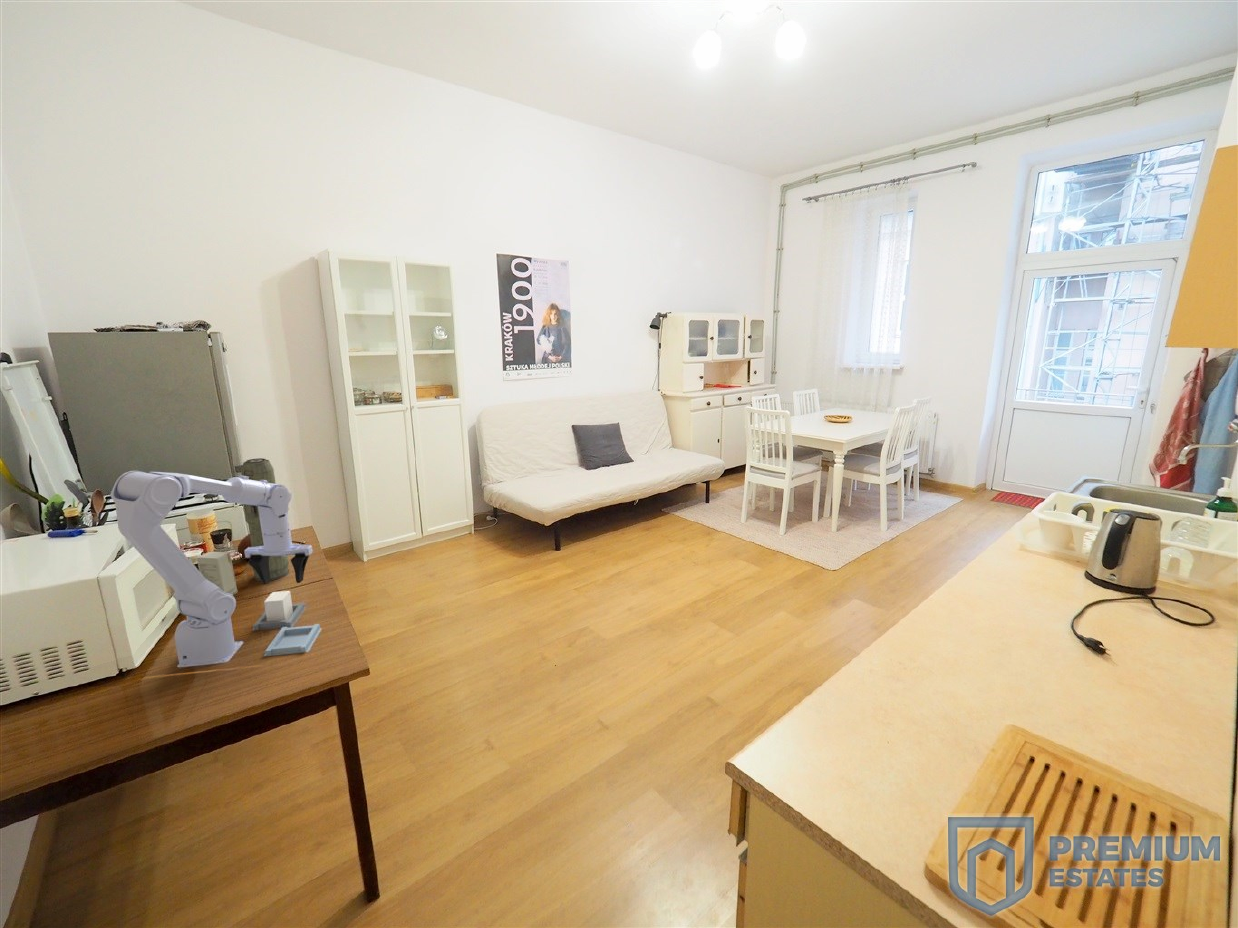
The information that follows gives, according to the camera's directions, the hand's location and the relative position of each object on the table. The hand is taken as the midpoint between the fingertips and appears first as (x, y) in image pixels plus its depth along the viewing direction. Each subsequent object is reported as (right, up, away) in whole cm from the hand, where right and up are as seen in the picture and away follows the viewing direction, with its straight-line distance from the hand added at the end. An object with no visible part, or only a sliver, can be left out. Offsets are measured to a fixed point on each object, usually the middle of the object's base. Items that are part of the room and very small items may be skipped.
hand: (283, 581), depth 129 cm
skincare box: (-25, -7, +12) cm, 28 cm away
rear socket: (-1, -10, +1) cm, 10 cm away
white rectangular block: (-1, -9, +1) cm, 9 cm away
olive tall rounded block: (-19, -4, +25) cm, 32 cm away
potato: (-33, 0, +38) cm, 50 cm away
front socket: (+8, -12, -9) cm, 17 cm away
